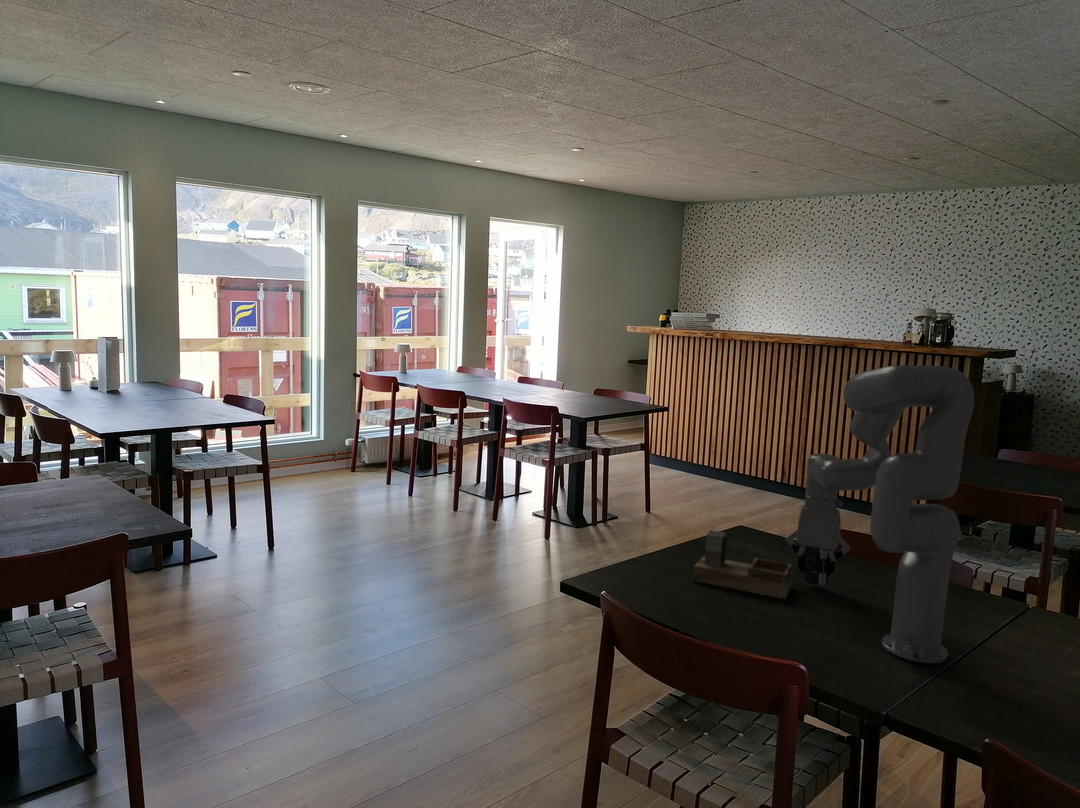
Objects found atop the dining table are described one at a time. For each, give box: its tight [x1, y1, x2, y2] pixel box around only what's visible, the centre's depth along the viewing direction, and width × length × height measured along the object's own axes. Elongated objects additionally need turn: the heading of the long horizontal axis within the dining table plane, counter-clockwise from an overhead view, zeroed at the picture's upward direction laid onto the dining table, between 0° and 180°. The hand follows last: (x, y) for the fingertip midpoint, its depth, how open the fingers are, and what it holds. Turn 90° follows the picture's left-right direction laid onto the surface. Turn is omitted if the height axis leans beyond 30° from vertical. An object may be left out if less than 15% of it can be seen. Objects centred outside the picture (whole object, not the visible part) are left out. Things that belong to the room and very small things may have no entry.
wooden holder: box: [692, 529, 794, 600], centre depth 199 cm, size 10×23×12 cm, turn 64°
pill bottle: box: [802, 547, 830, 587], centre depth 198 cm, size 6×6×11 cm
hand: (815, 572), depth 198 cm, fingers closed on pill bottle, 6 cm apart
